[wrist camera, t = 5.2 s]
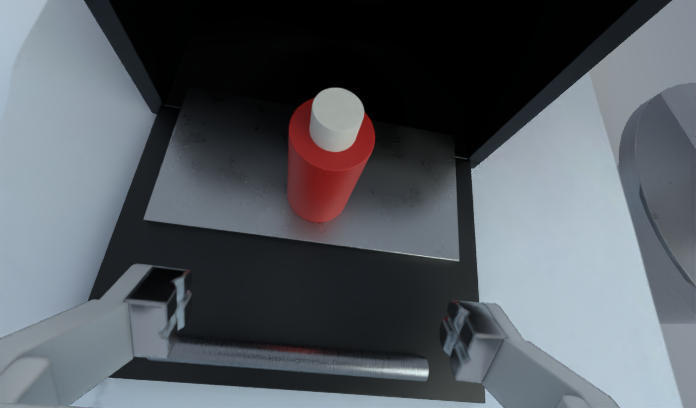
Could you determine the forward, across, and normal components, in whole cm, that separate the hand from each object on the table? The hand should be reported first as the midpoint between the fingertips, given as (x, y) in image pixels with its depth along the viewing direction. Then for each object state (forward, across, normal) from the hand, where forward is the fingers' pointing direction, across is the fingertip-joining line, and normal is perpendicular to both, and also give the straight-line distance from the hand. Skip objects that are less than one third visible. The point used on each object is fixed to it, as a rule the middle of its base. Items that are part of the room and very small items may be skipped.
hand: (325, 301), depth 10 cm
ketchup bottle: (+16, 0, +3) cm, 16 cm away
